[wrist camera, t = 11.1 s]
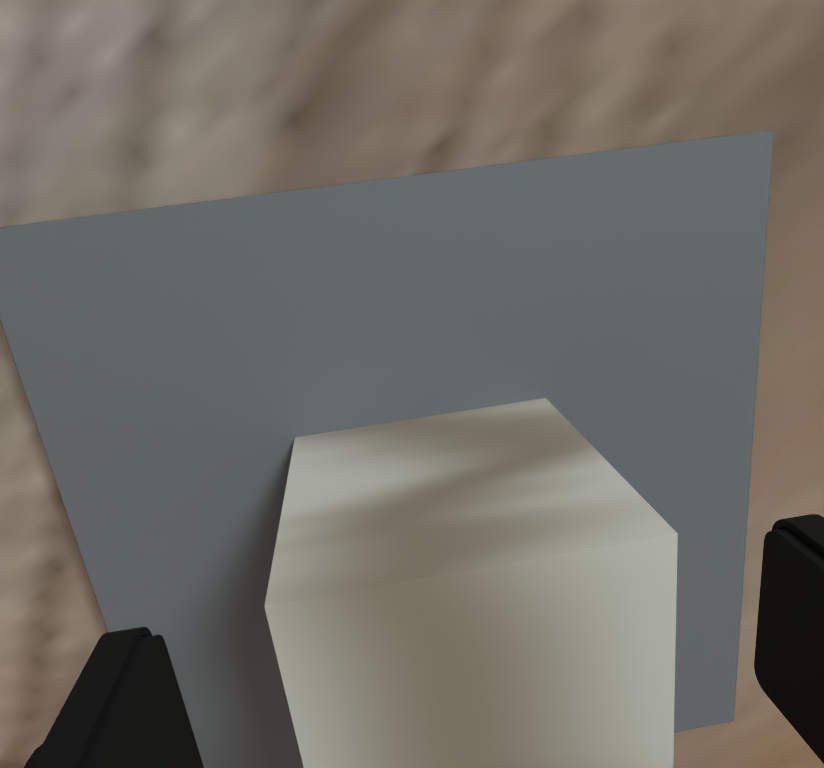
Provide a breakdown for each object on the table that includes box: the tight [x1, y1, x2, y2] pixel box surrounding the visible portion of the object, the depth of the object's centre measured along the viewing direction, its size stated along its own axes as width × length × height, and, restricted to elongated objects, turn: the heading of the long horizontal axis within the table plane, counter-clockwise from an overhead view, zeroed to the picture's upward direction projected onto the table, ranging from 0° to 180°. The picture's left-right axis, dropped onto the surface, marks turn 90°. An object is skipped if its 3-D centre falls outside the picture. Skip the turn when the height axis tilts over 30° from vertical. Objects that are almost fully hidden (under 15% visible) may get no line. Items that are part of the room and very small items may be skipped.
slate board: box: [0, 130, 774, 768], centre depth 13 cm, size 14×14×1 cm
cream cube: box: [264, 398, 678, 768], centre depth 10 cm, size 5×5×5 cm
